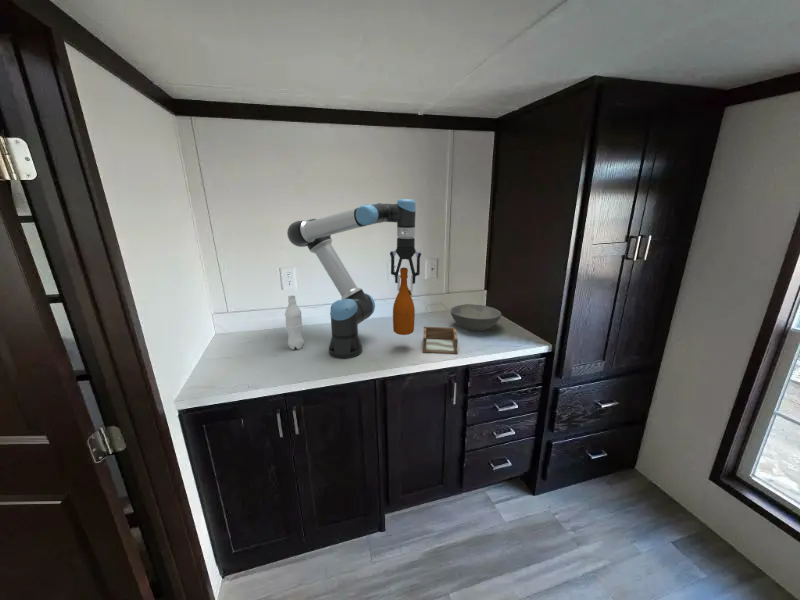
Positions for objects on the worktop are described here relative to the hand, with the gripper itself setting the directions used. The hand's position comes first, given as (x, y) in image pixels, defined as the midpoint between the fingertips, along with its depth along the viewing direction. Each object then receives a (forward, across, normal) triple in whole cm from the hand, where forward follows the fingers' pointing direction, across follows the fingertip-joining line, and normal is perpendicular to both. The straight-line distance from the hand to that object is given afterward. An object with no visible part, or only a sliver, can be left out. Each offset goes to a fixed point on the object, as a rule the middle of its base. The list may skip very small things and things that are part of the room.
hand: (405, 290), depth 152 cm
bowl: (+28, +36, +30) cm, 55 cm away
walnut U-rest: (+28, +17, +4) cm, 33 cm away
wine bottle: (+20, 0, 0) cm, 20 cm away
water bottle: (+29, -50, -3) cm, 58 cm away
